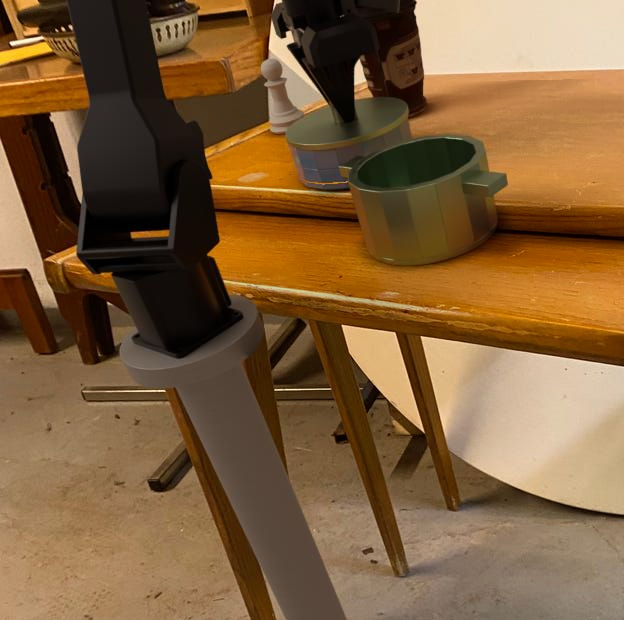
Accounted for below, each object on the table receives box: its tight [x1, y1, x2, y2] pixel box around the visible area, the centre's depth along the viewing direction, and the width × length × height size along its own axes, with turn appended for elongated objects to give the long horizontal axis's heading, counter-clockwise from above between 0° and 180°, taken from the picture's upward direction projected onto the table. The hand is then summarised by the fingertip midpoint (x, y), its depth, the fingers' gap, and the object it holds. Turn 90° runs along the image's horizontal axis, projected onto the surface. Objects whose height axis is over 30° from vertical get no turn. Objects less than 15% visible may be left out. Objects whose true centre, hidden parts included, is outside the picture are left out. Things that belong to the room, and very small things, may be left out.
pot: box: [339, 133, 509, 267], centre depth 78 cm, size 12×17×6 cm
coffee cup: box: [354, 0, 428, 118], centre depth 104 cm, size 9×8×13 cm
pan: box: [287, 117, 414, 191], centre depth 94 cm, size 12×12×4 cm
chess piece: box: [260, 58, 305, 135], centre depth 109 cm, size 5×5×8 cm
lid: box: [284, 96, 409, 150], centre depth 92 cm, size 13×13×5 cm
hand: (345, 117), depth 93 cm, fingers open, 3 cm apart
